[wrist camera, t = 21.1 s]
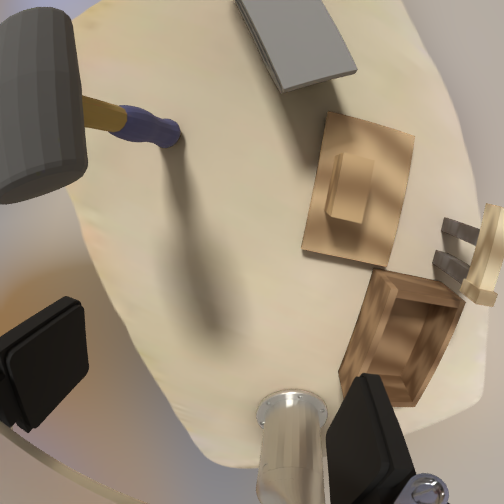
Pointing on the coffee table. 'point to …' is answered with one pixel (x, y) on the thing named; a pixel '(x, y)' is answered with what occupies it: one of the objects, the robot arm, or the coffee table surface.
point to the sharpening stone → (297, 41)
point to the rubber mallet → (54, 108)
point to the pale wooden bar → (486, 258)
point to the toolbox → (406, 325)
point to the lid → (358, 190)
